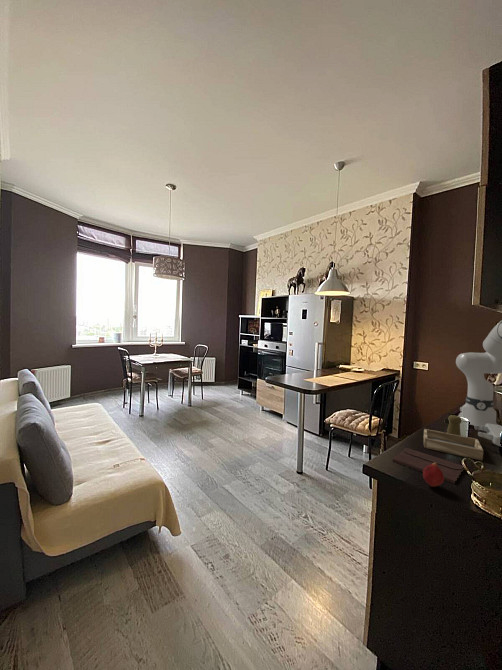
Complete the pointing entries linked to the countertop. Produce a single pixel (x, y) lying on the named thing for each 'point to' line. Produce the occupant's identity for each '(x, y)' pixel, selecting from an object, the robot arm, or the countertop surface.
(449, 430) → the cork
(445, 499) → the countertop surface
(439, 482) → the onion
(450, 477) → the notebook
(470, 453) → the tray
